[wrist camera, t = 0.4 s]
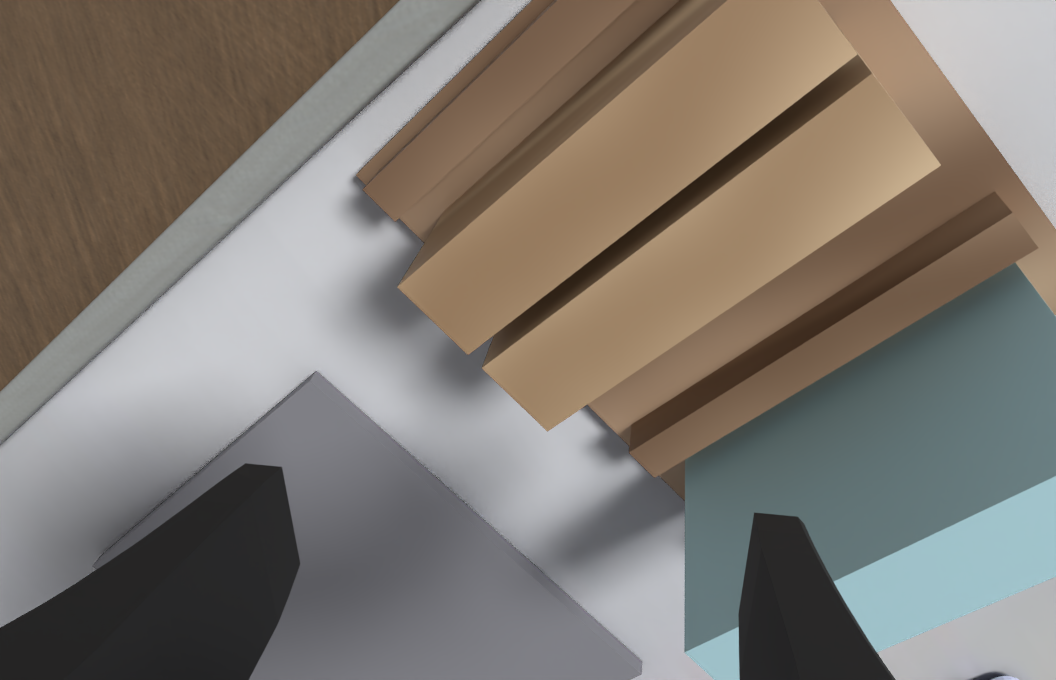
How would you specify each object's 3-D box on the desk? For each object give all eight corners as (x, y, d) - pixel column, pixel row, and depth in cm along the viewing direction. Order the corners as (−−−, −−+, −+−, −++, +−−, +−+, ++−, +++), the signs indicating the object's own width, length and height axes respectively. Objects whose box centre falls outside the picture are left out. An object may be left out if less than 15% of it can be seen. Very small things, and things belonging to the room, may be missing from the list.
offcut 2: (892, 99, 18) (941, 165, 15) (569, 336, 22) (547, 431, 19) (835, 24, 17) (872, 73, 14) (514, 281, 21) (481, 368, 18)
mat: (642, 661, 28) (641, 674, 28) (399, 778, 34) (395, 790, 33) (316, 370, 24) (310, 380, 24) (101, 555, 30) (92, 566, 29)
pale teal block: (1059, 320, 20) (1202, 514, 14) (731, 501, 24) (745, 708, 18) (1011, 257, 19) (1142, 434, 14) (685, 454, 23) (684, 652, 18)
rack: (1148, 359, 20) (1183, 400, 19) (756, 560, 25) (759, 604, 24) (739, -206, 16) (745, -209, 15) (362, 167, 21) (338, 193, 20)
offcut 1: (823, 8, 17) (858, 53, 14) (502, 269, 21) (468, 355, 18) (761, -74, 17) (781, -48, 13) (444, 210, 21) (397, 286, 17)
